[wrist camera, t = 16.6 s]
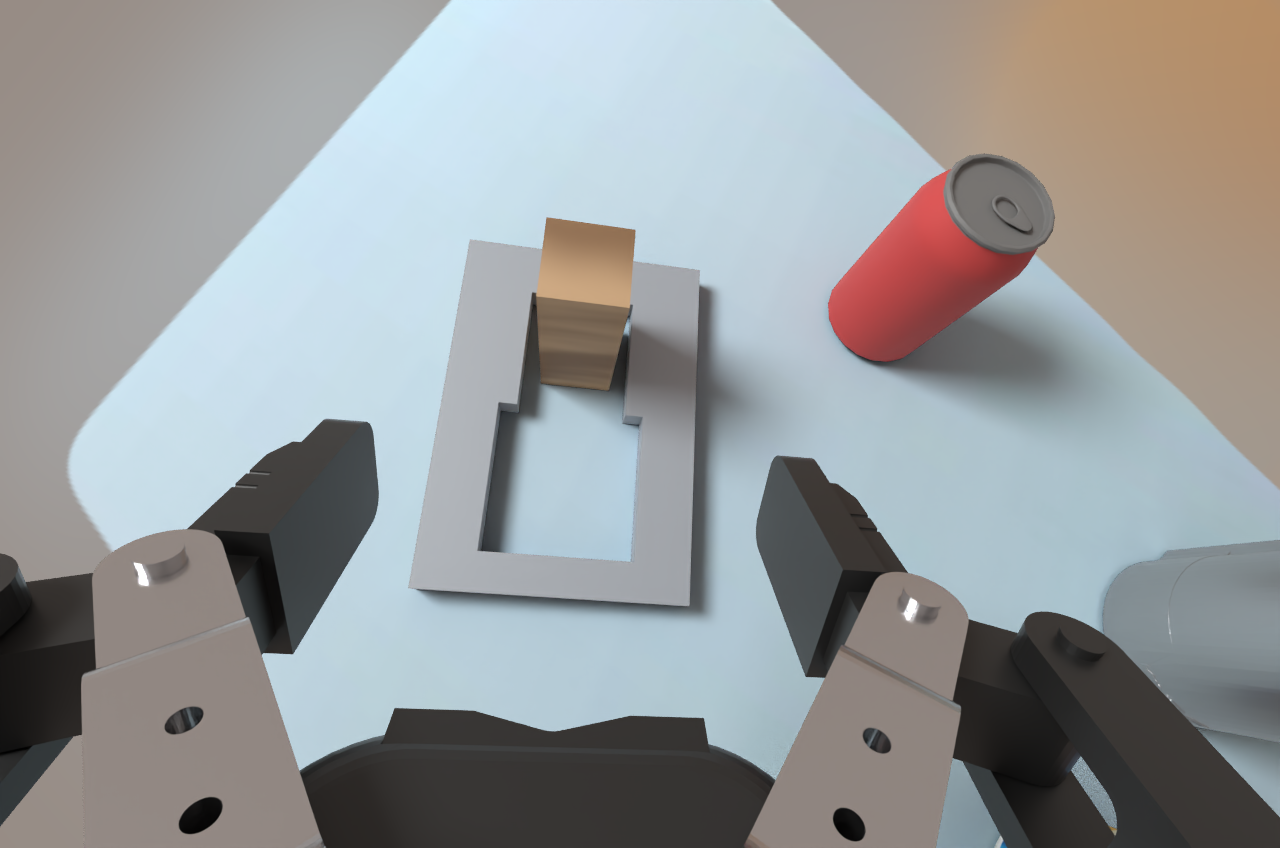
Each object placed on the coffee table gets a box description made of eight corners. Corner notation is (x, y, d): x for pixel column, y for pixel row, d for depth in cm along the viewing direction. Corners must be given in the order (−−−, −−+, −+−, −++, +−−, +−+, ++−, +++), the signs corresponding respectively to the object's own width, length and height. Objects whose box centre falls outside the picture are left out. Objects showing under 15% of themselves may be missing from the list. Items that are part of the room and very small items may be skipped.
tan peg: (608, 390, 34) (629, 307, 25) (540, 383, 34) (536, 296, 25) (613, 330, 36) (635, 229, 26) (548, 322, 35) (546, 217, 26)
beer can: (876, 385, 37) (1018, 286, 26) (804, 312, 38) (910, 186, 27) (935, 327, 39) (1090, 212, 28) (865, 259, 40) (988, 122, 29)
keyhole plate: (683, 606, 31) (689, 606, 30) (415, 589, 30) (408, 588, 28) (694, 283, 37) (699, 270, 36) (473, 254, 36) (470, 239, 34)
